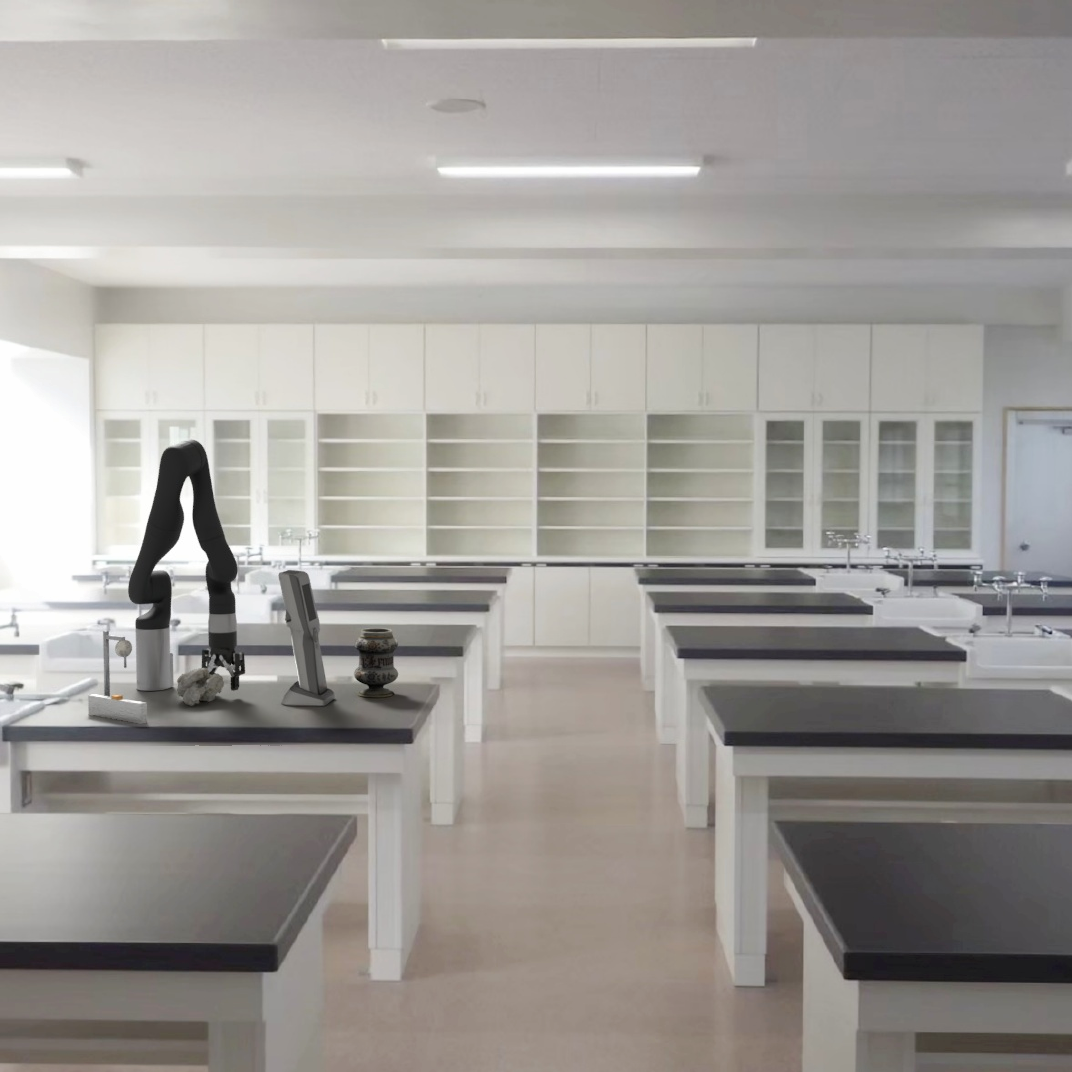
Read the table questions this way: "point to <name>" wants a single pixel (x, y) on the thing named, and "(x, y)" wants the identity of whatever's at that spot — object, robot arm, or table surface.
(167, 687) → the robot arm
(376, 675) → the apothecary jar
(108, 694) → the dial indicator stand
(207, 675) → the mineral
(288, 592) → the thermal camera
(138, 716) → the rail
